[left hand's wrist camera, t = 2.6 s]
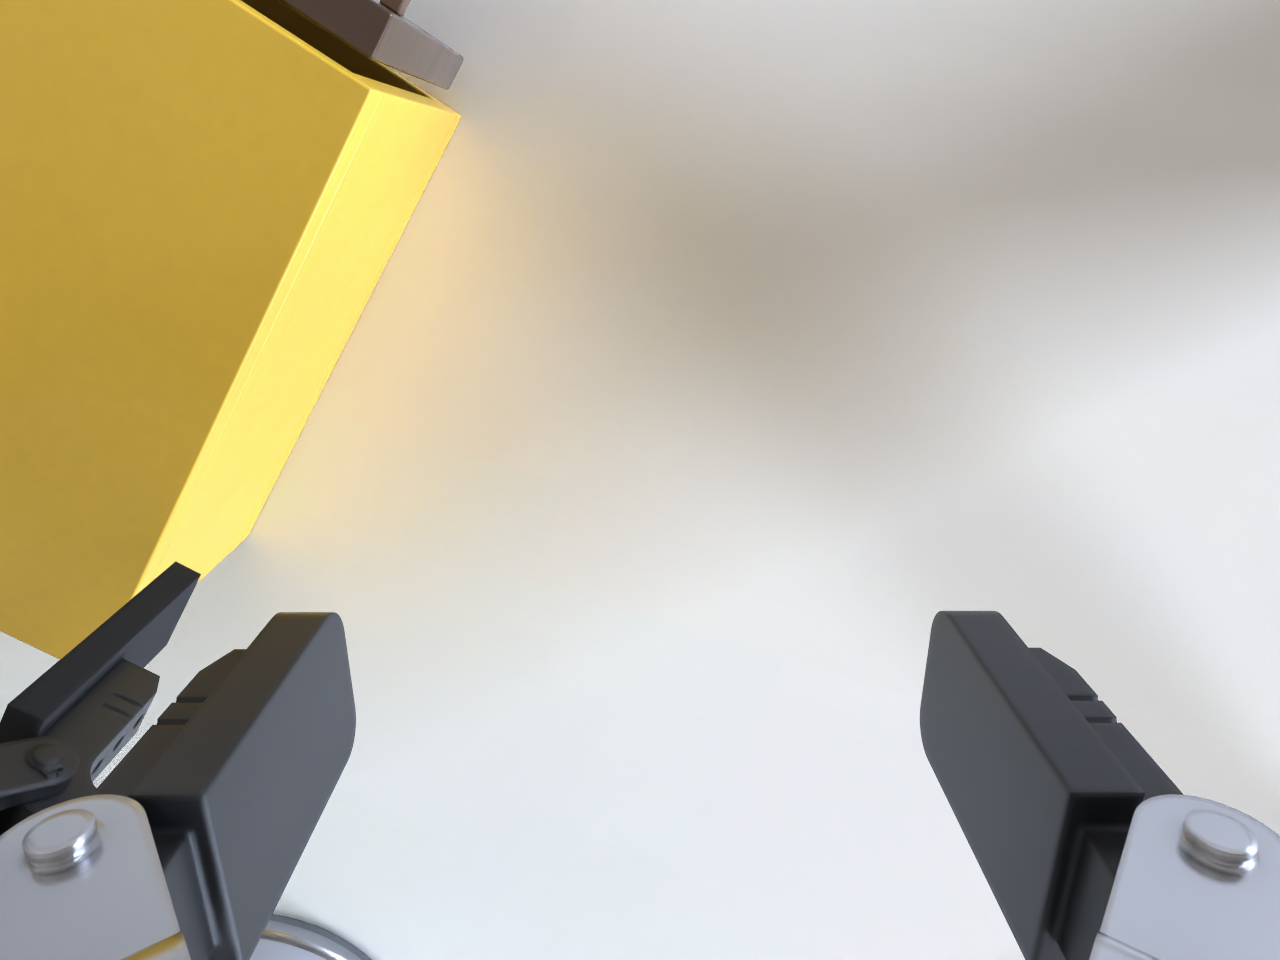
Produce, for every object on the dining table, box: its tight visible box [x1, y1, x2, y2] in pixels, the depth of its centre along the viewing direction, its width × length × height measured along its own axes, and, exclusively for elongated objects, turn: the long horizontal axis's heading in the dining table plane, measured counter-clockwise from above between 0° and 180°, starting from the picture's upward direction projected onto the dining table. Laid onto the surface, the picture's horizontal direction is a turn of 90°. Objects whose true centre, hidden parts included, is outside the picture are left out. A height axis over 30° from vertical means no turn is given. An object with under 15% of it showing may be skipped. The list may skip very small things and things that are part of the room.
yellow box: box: [0, 0, 461, 659], centre depth 27 cm, size 20×11×11 cm, turn 148°
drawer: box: [281, 0, 463, 89], centre depth 26 cm, size 24×10×9 cm, turn 148°
